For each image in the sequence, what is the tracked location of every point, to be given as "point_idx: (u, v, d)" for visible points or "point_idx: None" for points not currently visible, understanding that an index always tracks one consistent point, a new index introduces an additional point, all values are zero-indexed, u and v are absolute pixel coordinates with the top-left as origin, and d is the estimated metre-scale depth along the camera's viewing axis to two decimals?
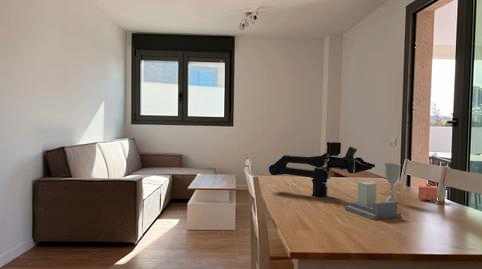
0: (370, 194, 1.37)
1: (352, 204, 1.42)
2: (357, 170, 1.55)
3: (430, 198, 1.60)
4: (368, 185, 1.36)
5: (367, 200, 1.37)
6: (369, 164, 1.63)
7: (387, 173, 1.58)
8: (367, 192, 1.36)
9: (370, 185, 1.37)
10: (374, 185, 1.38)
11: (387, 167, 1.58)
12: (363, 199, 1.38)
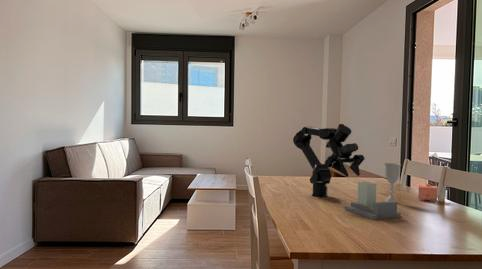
0: (370, 194, 1.37)
1: (352, 204, 1.42)
2: (336, 167, 1.50)
3: (430, 198, 1.60)
4: (368, 185, 1.36)
5: (367, 200, 1.37)
6: (356, 170, 1.50)
7: (387, 173, 1.58)
8: (367, 192, 1.36)
9: (370, 185, 1.37)
10: (374, 185, 1.38)
11: (387, 167, 1.58)
12: (363, 199, 1.38)
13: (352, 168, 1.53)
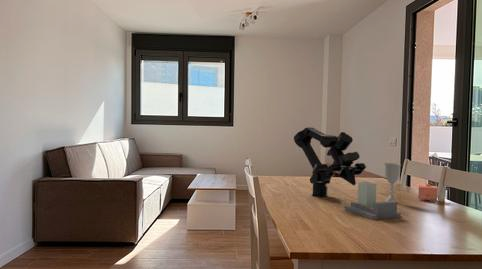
0: (370, 194, 1.37)
1: (352, 204, 1.42)
2: (342, 176, 1.51)
3: (430, 198, 1.60)
4: (368, 185, 1.36)
5: (367, 200, 1.37)
6: None
7: (387, 173, 1.58)
8: (367, 192, 1.36)
9: (370, 185, 1.37)
10: (374, 185, 1.38)
11: (387, 167, 1.58)
12: (363, 199, 1.38)
13: None
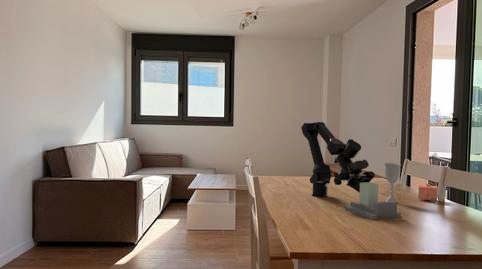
0: (372, 195, 1.36)
1: (352, 204, 1.42)
2: (351, 185, 1.45)
3: (430, 198, 1.60)
4: (370, 185, 1.36)
5: (369, 200, 1.36)
6: None
7: (387, 173, 1.58)
8: (369, 192, 1.36)
9: (372, 185, 1.36)
10: (376, 185, 1.37)
11: (387, 167, 1.58)
12: (364, 200, 1.37)
13: None
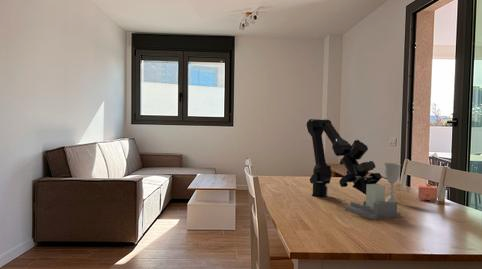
0: (379, 197, 1.33)
1: (352, 204, 1.42)
2: (357, 187, 1.42)
3: (430, 198, 1.60)
4: (377, 187, 1.32)
5: None
6: None
7: (387, 173, 1.58)
8: (376, 194, 1.32)
9: (379, 187, 1.32)
10: (383, 187, 1.33)
11: (387, 167, 1.58)
12: (371, 202, 1.34)
13: None
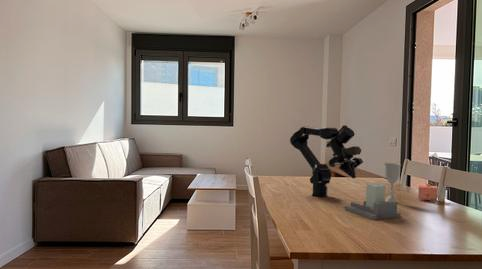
0: (379, 197, 1.33)
1: (352, 204, 1.42)
2: (342, 168, 1.53)
3: (430, 198, 1.60)
4: (377, 187, 1.32)
5: None
6: None
7: (387, 173, 1.58)
8: (376, 194, 1.32)
9: (379, 187, 1.32)
10: (383, 187, 1.33)
11: (387, 167, 1.58)
12: (371, 202, 1.34)
13: None
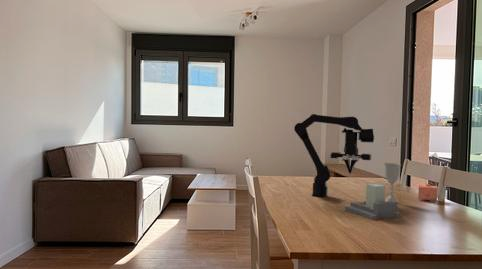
0: (379, 197, 1.33)
1: (352, 204, 1.42)
2: None
3: (430, 198, 1.60)
4: (377, 187, 1.32)
5: None
6: None
7: (387, 173, 1.58)
8: (376, 194, 1.32)
9: (379, 187, 1.32)
10: (383, 187, 1.33)
11: (387, 167, 1.58)
12: (371, 202, 1.34)
13: (349, 163, 1.66)
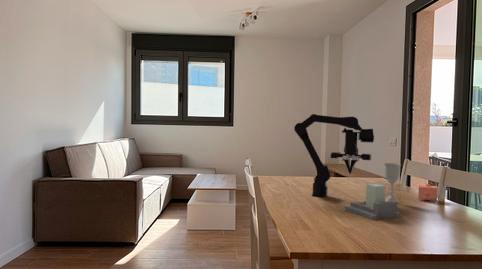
0: (379, 197, 1.33)
1: (352, 204, 1.42)
2: None
3: (430, 198, 1.60)
4: (377, 187, 1.32)
5: None
6: None
7: (387, 173, 1.58)
8: (376, 194, 1.32)
9: (379, 187, 1.32)
10: (383, 187, 1.33)
11: (387, 167, 1.58)
12: (371, 202, 1.34)
13: (349, 163, 1.66)
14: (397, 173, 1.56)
